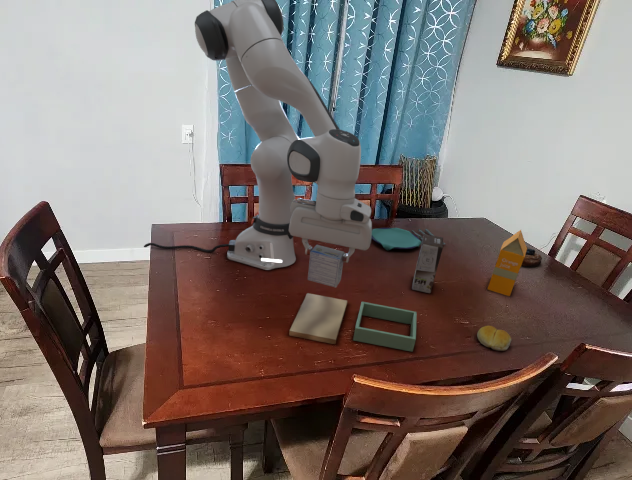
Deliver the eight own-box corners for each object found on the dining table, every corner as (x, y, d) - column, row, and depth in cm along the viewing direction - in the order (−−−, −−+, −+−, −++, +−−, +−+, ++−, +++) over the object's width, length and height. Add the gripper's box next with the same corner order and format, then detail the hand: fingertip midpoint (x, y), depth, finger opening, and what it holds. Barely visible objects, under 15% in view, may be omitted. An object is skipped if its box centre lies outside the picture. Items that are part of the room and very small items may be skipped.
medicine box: (341, 280, 116) (345, 251, 111) (335, 288, 113) (340, 259, 108) (313, 272, 117) (316, 243, 112) (307, 280, 114) (310, 250, 109)
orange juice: (513, 286, 153) (533, 232, 142) (509, 296, 146) (530, 240, 135) (490, 279, 155) (509, 226, 145) (486, 289, 148) (505, 234, 138)
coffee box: (431, 294, 141) (443, 247, 132) (411, 289, 141) (422, 243, 133) (432, 281, 148) (443, 236, 140) (413, 277, 149) (423, 232, 140)
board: (289, 335, 112) (289, 330, 112) (306, 297, 129) (307, 293, 128) (335, 344, 112) (335, 339, 111) (346, 304, 128) (347, 300, 128)
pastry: (524, 253, 180) (529, 240, 177) (543, 267, 171) (549, 253, 168) (502, 254, 177) (507, 240, 173) (520, 268, 167) (526, 254, 164)
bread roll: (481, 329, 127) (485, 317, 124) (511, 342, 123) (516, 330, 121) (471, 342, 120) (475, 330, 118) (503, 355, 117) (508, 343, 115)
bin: (353, 340, 114) (355, 327, 112) (359, 313, 126) (361, 301, 123) (412, 351, 113) (415, 339, 111) (413, 323, 125) (416, 311, 122)
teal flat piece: (361, 232, 177) (362, 227, 175) (424, 230, 188) (425, 225, 187) (383, 254, 162) (384, 248, 160) (450, 250, 173) (452, 244, 172)
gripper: (288, 200, 101) (283, 254, 109) (375, 218, 100) (364, 271, 108) (294, 192, 106) (289, 244, 114) (377, 209, 106) (367, 260, 113)
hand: (326, 257), depth 111 cm, fingers closed on medicine box, 8 cm apart
